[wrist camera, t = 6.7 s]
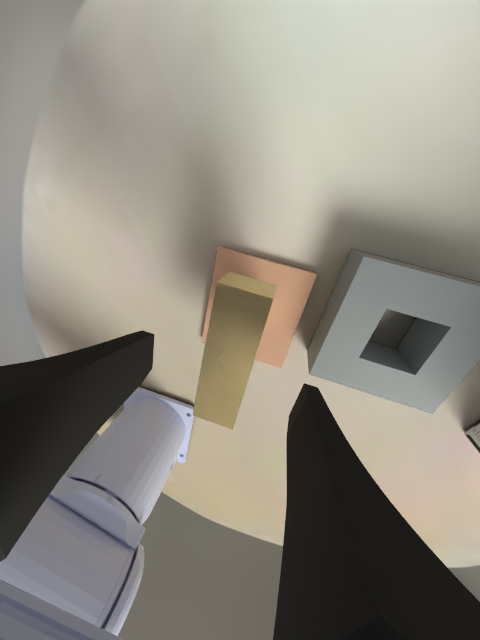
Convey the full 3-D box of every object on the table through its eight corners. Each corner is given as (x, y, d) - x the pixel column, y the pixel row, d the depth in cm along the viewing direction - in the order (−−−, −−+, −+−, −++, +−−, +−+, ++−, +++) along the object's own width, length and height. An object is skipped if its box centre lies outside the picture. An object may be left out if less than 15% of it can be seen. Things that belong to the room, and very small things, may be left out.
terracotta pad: (281, 364, 19) (280, 368, 19) (203, 339, 20) (201, 342, 19) (316, 272, 15) (317, 274, 15) (219, 246, 16) (217, 247, 16)
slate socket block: (411, 383, 17) (432, 413, 14) (307, 350, 18) (309, 374, 15) (485, 283, 14) (532, 300, 11) (351, 249, 14) (363, 256, 12)
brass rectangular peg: (253, 359, 19) (232, 429, 13) (226, 350, 19) (192, 415, 13) (282, 265, 15) (273, 299, 9) (248, 255, 15) (216, 282, 9)
